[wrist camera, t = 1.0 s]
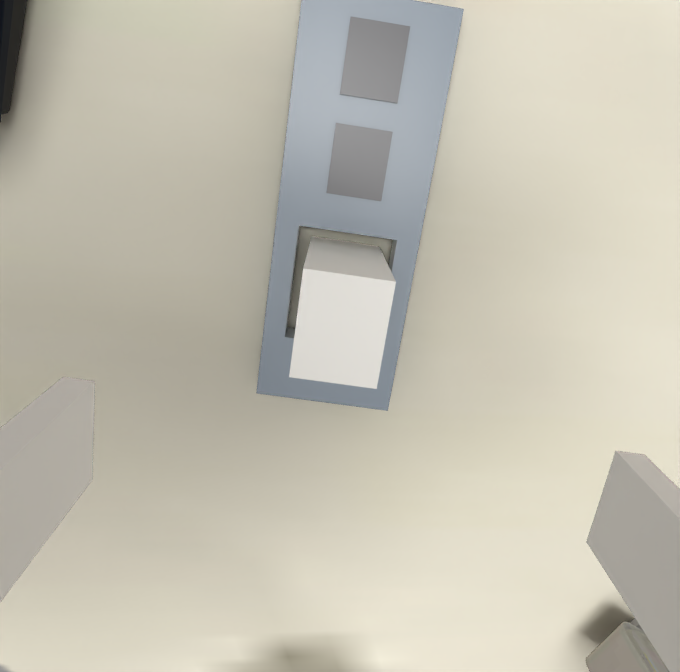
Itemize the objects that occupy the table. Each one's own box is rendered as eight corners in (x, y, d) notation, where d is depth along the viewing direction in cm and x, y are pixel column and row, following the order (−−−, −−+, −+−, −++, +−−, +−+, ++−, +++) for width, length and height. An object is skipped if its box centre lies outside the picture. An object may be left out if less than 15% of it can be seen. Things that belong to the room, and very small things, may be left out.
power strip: (260, 380, 37) (256, 394, 35) (305, -8, 31) (303, -20, 28) (384, 397, 37) (388, 411, 35) (455, 17, 31) (464, 7, 29)
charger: (300, 317, 36) (288, 377, 26) (311, 235, 34) (303, 268, 25) (365, 326, 36) (376, 389, 27) (378, 245, 35) (396, 281, 25)
